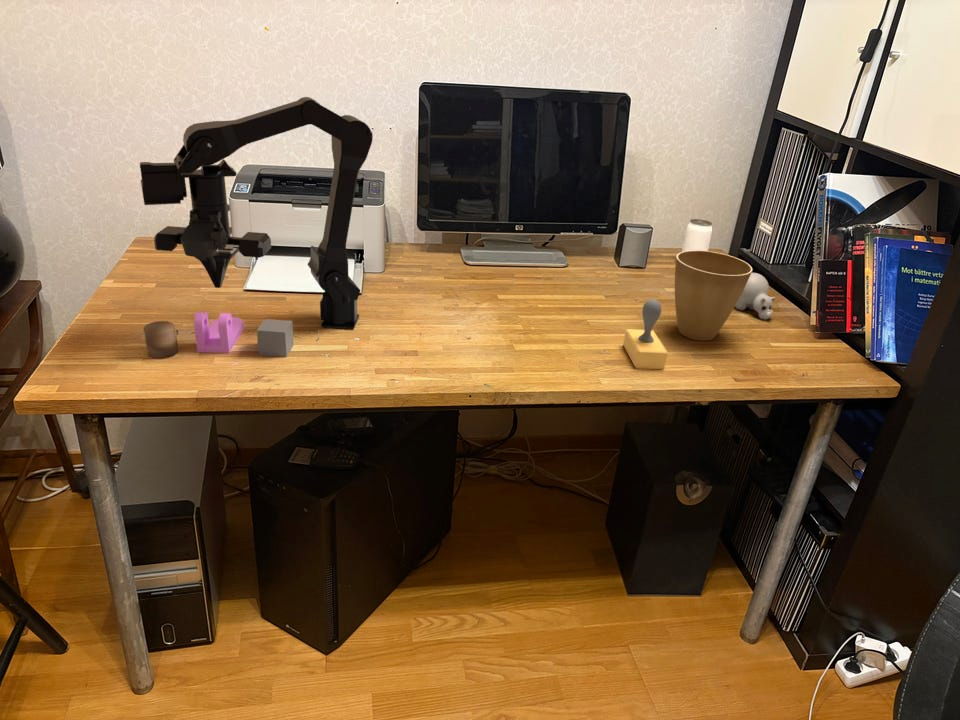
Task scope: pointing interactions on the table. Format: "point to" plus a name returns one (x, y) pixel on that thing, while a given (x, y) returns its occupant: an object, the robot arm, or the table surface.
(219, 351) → the bracket
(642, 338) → the rubber stamp
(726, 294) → the plant pot
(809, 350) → the table surface
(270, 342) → the grey cube
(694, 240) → the can
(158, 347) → the walnut cylinder
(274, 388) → the table surface
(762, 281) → the chubby cartoon animal
